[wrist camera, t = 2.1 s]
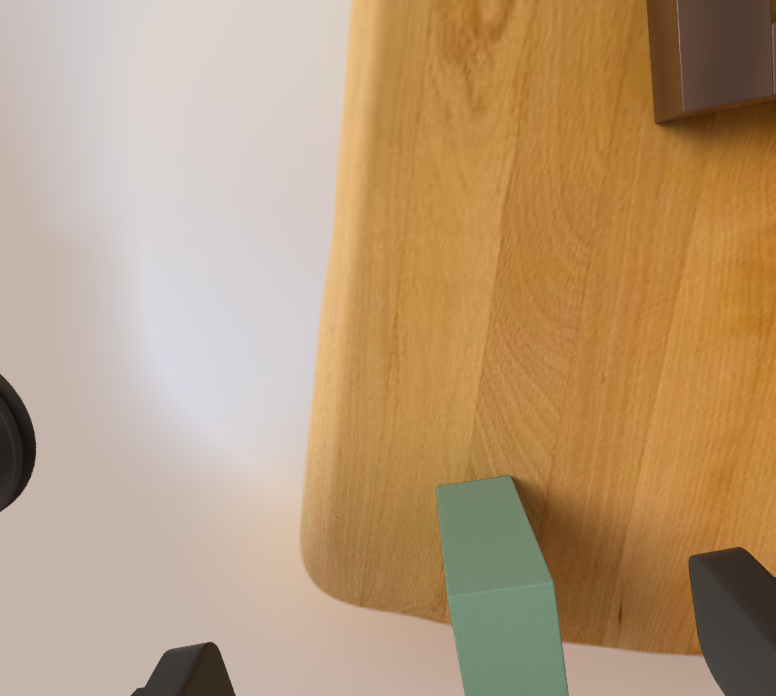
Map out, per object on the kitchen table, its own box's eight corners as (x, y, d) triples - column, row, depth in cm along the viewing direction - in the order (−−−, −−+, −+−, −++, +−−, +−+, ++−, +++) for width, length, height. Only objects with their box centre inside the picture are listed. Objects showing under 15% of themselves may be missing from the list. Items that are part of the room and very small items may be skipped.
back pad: (450, 573, 34) (467, 713, 25) (435, 486, 33) (447, 596, 23) (523, 563, 34) (569, 701, 24) (510, 474, 33) (554, 582, 23)
